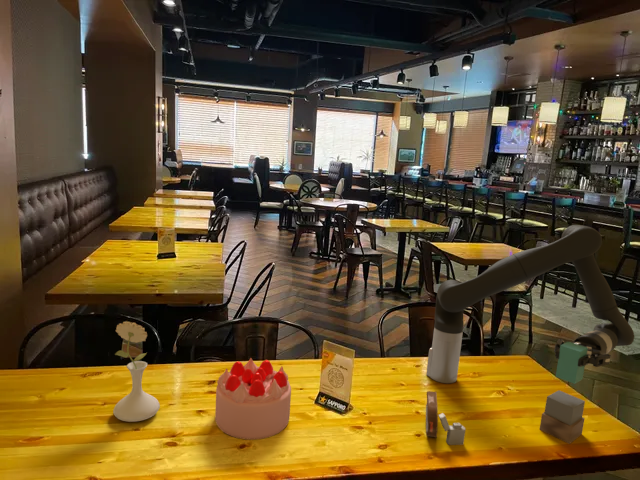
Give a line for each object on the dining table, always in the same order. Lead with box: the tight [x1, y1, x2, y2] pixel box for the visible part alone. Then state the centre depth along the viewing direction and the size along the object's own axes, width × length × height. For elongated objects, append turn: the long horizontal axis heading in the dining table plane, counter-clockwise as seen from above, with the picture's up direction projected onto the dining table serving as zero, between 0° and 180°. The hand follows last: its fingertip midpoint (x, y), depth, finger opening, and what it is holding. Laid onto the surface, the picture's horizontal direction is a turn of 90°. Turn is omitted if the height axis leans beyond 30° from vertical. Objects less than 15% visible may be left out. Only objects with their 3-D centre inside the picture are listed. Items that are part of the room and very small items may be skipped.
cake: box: [214, 357, 292, 441], centre depth 123 cm, size 20×20×14 cm
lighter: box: [438, 412, 466, 446], centre depth 118 cm, size 7×2×8 cm, turn 98°
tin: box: [425, 390, 439, 438], centre depth 125 cm, size 15×3×8 cm, turn 168°
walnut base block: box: [539, 412, 585, 445], centre depth 128 cm, size 8×8×5 cm
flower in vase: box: [113, 321, 161, 423], centre depth 120 cm, size 13×11×25 cm
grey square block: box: [543, 389, 586, 426], centre depth 127 cm, size 7×7×5 cm
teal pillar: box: [555, 341, 588, 385], centre depth 125 cm, size 5×5×9 cm
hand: (568, 359), depth 123 cm, fingers closed on teal pillar, 5 cm apart
